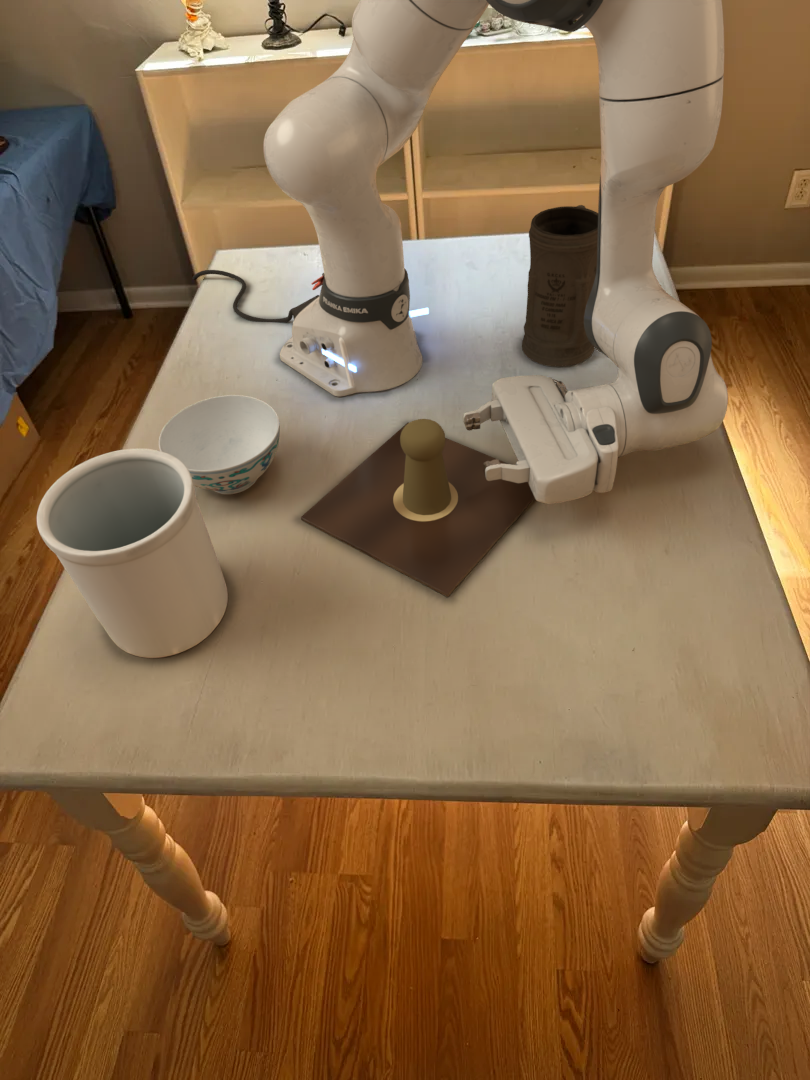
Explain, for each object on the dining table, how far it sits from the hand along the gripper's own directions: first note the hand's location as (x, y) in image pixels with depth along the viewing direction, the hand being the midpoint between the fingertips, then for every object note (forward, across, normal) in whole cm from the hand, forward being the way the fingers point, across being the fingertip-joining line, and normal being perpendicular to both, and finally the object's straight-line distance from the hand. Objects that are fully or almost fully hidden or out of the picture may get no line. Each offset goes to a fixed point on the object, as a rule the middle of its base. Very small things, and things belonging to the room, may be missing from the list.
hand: (474, 445), depth 92 cm
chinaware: (+30, -11, +8) cm, 33 cm away
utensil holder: (+38, +10, +8) cm, 40 cm away
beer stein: (-21, -30, +8) cm, 37 cm away
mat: (+6, 0, +8) cm, 10 cm away
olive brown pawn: (+6, 0, +7) cm, 9 cm away
